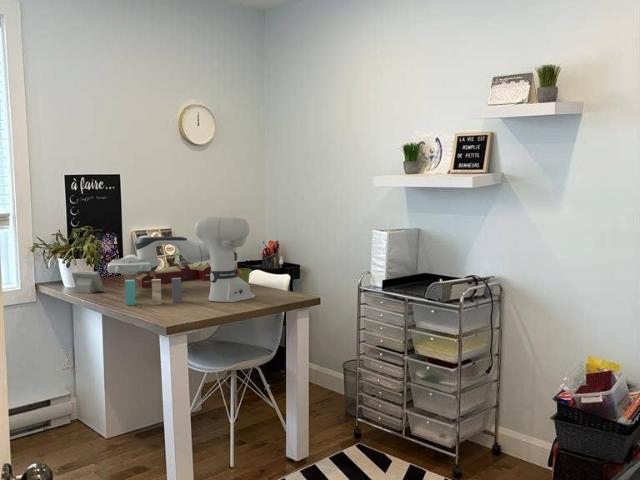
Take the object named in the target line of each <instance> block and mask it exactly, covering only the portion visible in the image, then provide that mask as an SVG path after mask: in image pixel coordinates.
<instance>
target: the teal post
mask: <svg viewBox="0 0 640 480" xmlns="http://www.w3.org/2000/svg"><path fill="white" fill-rule="evenodd" d="M135 280H136V279H125V281H124V283H125V288H124V289H125V306H135V305H136V281H135Z"/></svg>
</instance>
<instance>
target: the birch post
mask: <svg viewBox="0 0 640 480" xmlns="http://www.w3.org/2000/svg"><path fill="white" fill-rule="evenodd" d="M151 295H152V296H151V297H152V299H151V301H152V302H151V303H152V306H154V305H162V284H161V279H152V287H151Z"/></svg>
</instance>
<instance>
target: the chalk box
mask: <svg viewBox="0 0 640 480" xmlns="http://www.w3.org/2000/svg"><path fill="white" fill-rule="evenodd" d="M174 258H175V262H174V263H175V264H176V263H180V262H181V263H182V264H183V265H184V266H186V265H188V266H190V264H192V267H193V264H194V265H195V263H190V262H188V261H186V260H185V259H184V258H183V256H182V255H181V253H180V252H177V253H174Z"/></svg>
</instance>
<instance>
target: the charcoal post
mask: <svg viewBox="0 0 640 480" xmlns="http://www.w3.org/2000/svg"><path fill="white" fill-rule="evenodd" d="M171 290H172V291H171V293H172V295H171V296H172V298H171V299H172V303H173V304H177V303H183V302H182V281H181V278H172V282H171Z"/></svg>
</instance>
